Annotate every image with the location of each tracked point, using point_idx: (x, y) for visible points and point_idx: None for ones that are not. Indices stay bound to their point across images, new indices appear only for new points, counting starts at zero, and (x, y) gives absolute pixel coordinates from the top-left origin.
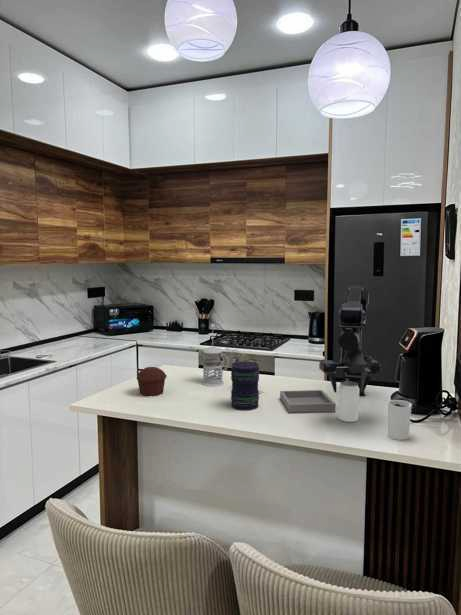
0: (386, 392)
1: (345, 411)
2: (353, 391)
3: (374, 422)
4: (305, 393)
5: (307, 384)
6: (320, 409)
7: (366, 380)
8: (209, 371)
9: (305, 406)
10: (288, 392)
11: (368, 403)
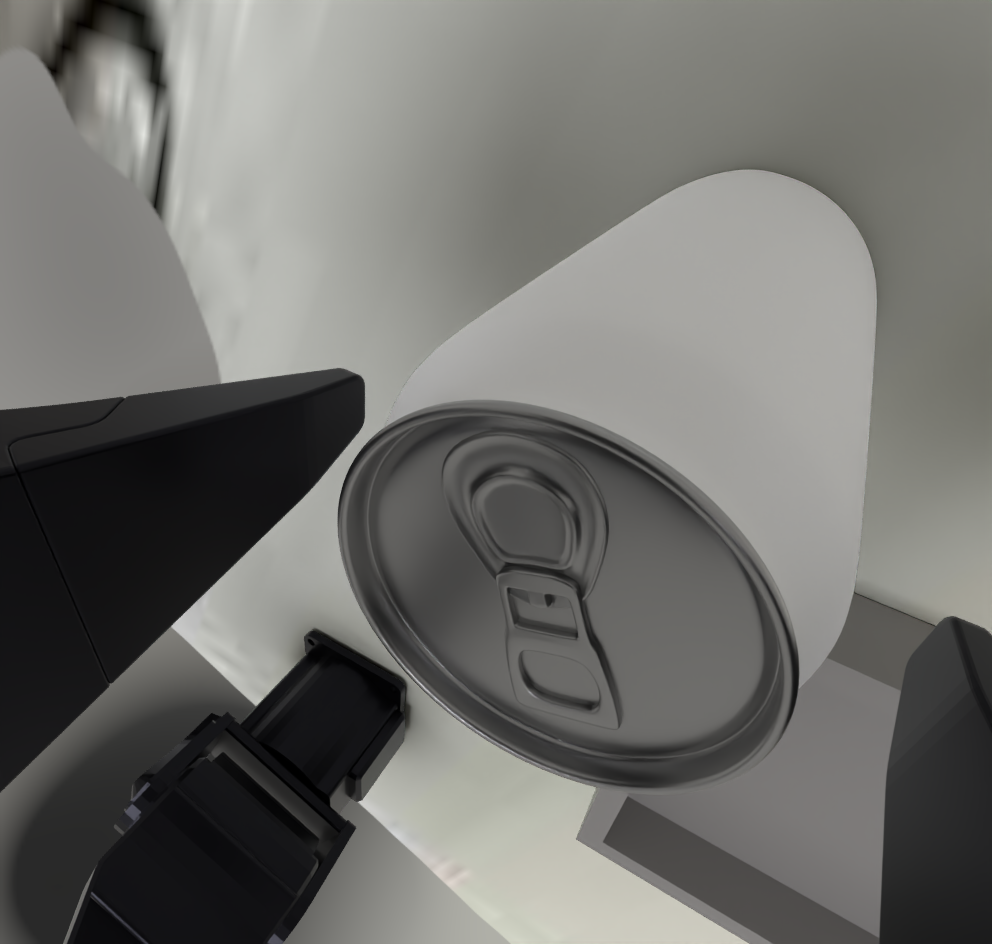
0: None
1: (847, 261)
2: (618, 315)
3: (489, 91)
4: (739, 898)
5: (549, 921)
6: (892, 634)
7: (93, 425)
8: None
9: None
10: None
11: None
